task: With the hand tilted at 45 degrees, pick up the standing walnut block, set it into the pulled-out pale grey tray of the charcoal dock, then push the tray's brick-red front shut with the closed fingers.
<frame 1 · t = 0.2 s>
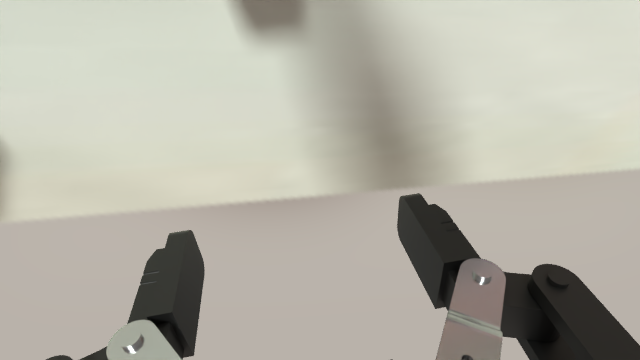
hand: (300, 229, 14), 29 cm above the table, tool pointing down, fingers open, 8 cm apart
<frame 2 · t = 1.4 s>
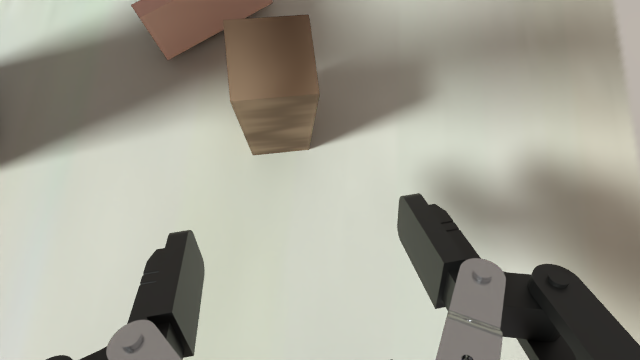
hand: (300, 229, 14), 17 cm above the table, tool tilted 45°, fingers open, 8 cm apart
walnut block: (278, 125, 32), on the table
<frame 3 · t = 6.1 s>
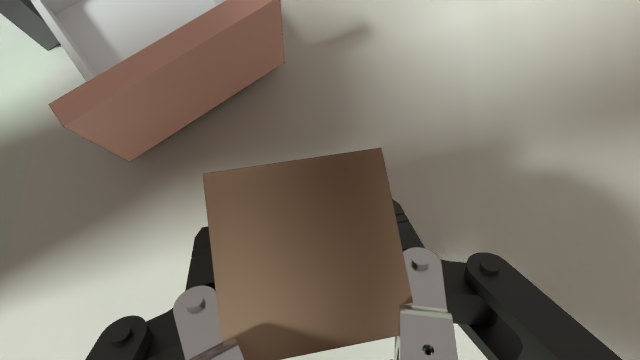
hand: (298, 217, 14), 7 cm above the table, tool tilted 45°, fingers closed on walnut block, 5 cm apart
dock tray: (144, 17, 19), point 4 cm above the table, slide at 8.0 cm
walnut block: (300, 250, 21), on the table, touching gripper
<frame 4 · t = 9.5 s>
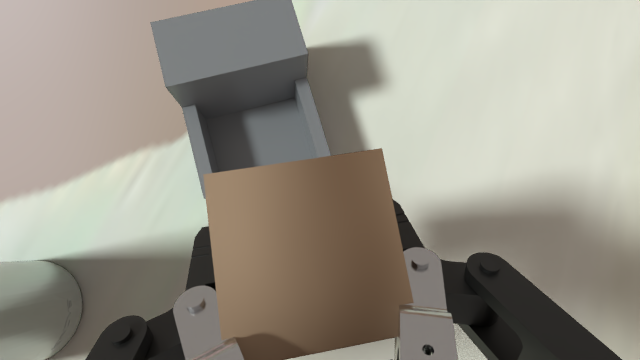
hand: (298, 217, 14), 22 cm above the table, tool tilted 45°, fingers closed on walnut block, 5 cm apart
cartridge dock: (263, 152, 37), on the table
walnut block: (301, 250, 21), point 15 cm above the table, touching gripper
when the fingers open (11 cm above the table, at t = 12.8 s): walnut block drops 2 cm, resting on dock tray.
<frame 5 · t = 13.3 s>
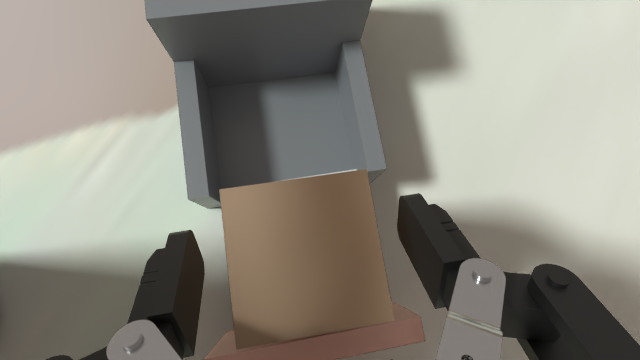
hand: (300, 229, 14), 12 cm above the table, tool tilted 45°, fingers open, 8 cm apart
dock tray: (301, 258, 21), point 4 cm above the table, slide at 7.9 cm, touching walnut block
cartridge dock: (282, 143, 27), on the table
walnut block: (300, 251, 23), point 2 cm above the table, touching dock tray
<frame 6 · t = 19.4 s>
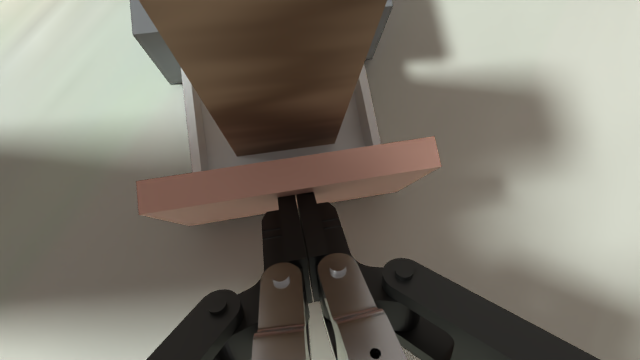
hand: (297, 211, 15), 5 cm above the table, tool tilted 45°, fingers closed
dock tray: (279, 96, 17), point 4 cm above the table, slide at 6.8 cm, touching gripper, walnut block
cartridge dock: (264, 11, 22), on the table
walnut block: (279, 104, 19), point 2 cm above the table, touching dock tray
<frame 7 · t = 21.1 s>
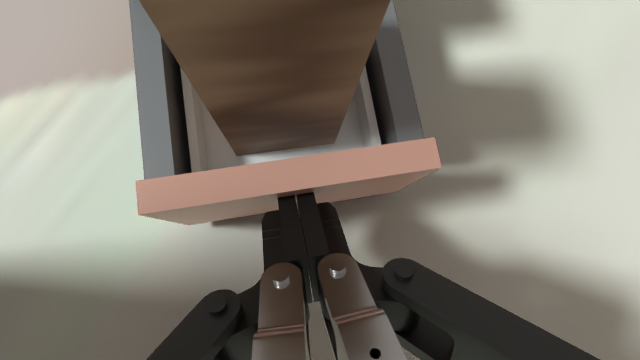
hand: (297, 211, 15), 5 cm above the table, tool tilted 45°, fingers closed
dock tray: (279, 95, 17), point 4 cm above the table, slide at -0.1 cm, touching gripper, walnut block
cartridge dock: (280, 115, 20), on the table
walnut block: (279, 103, 18), point 2 cm above the table, touching dock tray
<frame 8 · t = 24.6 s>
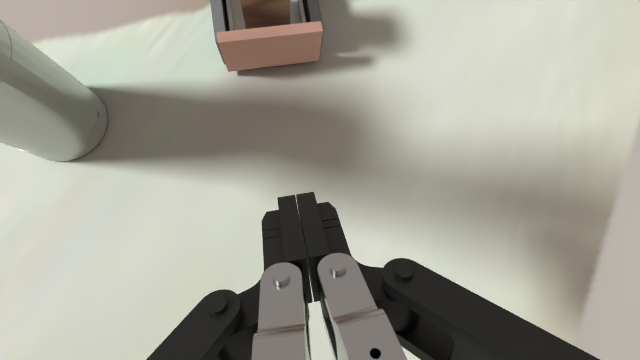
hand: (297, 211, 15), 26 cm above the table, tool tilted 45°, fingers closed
dock tray: (266, 13, 41), point 4 cm above the table, slide at 0.0 cm, touching walnut block
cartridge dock: (268, 29, 45), on the table
walnut block: (267, 20, 43), point 2 cm above the table, touching dock tray
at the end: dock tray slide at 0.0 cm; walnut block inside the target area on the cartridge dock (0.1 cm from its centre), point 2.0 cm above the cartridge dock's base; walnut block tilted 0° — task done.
